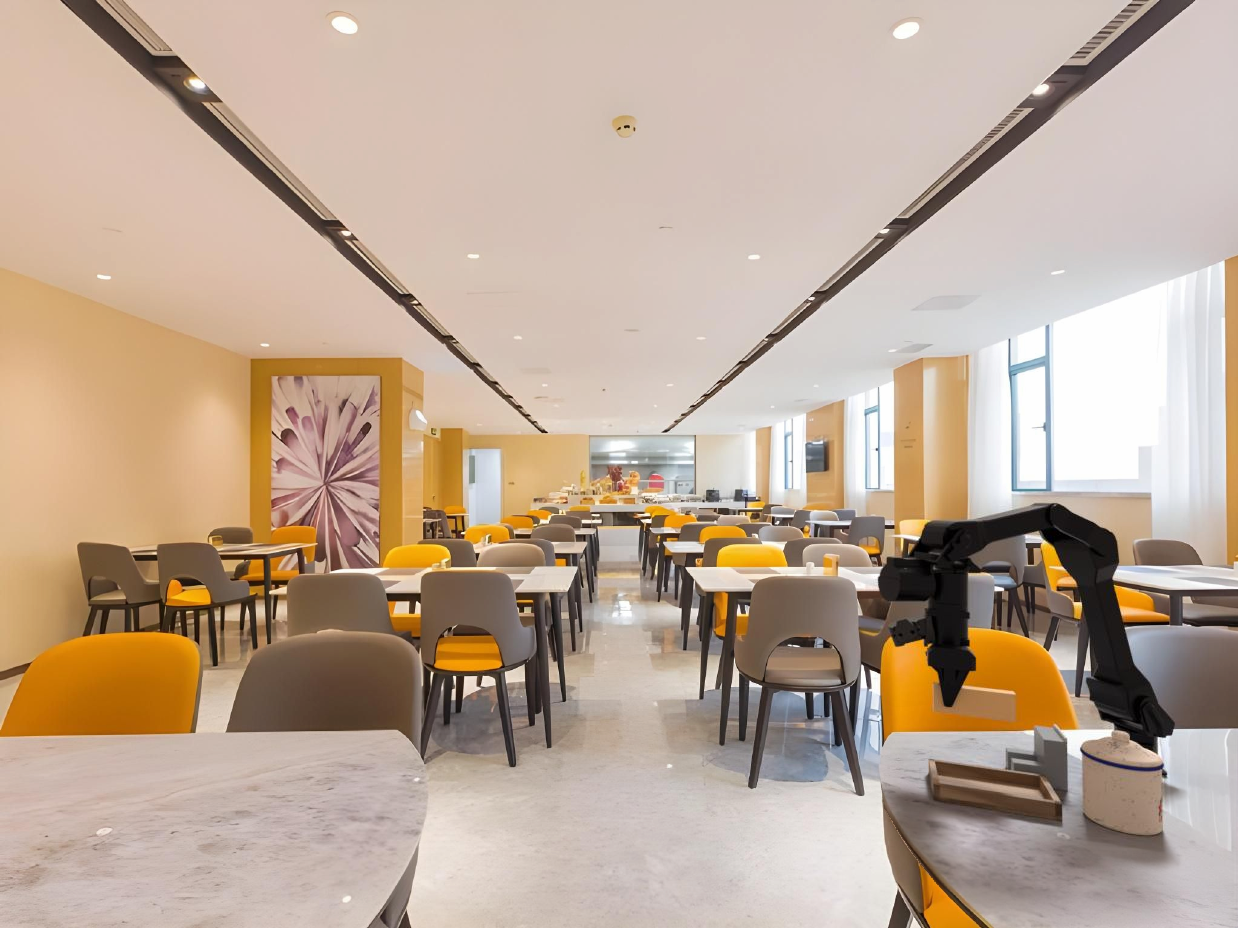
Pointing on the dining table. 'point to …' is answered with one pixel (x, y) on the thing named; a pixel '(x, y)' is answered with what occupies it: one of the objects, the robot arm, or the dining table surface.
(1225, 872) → the dining table surface
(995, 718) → the tan elongated block
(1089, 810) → the teacup with lid
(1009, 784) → the tray
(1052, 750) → the grey slotted holder
